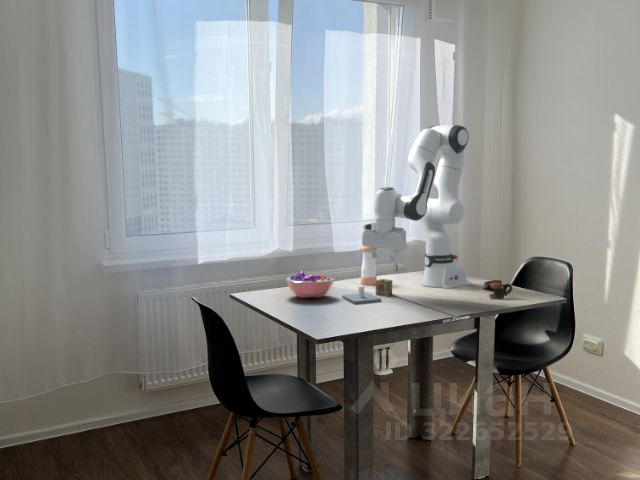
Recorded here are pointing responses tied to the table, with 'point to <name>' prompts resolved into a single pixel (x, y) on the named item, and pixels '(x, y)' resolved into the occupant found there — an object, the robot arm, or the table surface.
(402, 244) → the robot arm
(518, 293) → the table surface
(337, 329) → the table surface
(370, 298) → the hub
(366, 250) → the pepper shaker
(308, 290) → the cell model
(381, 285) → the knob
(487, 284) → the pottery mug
